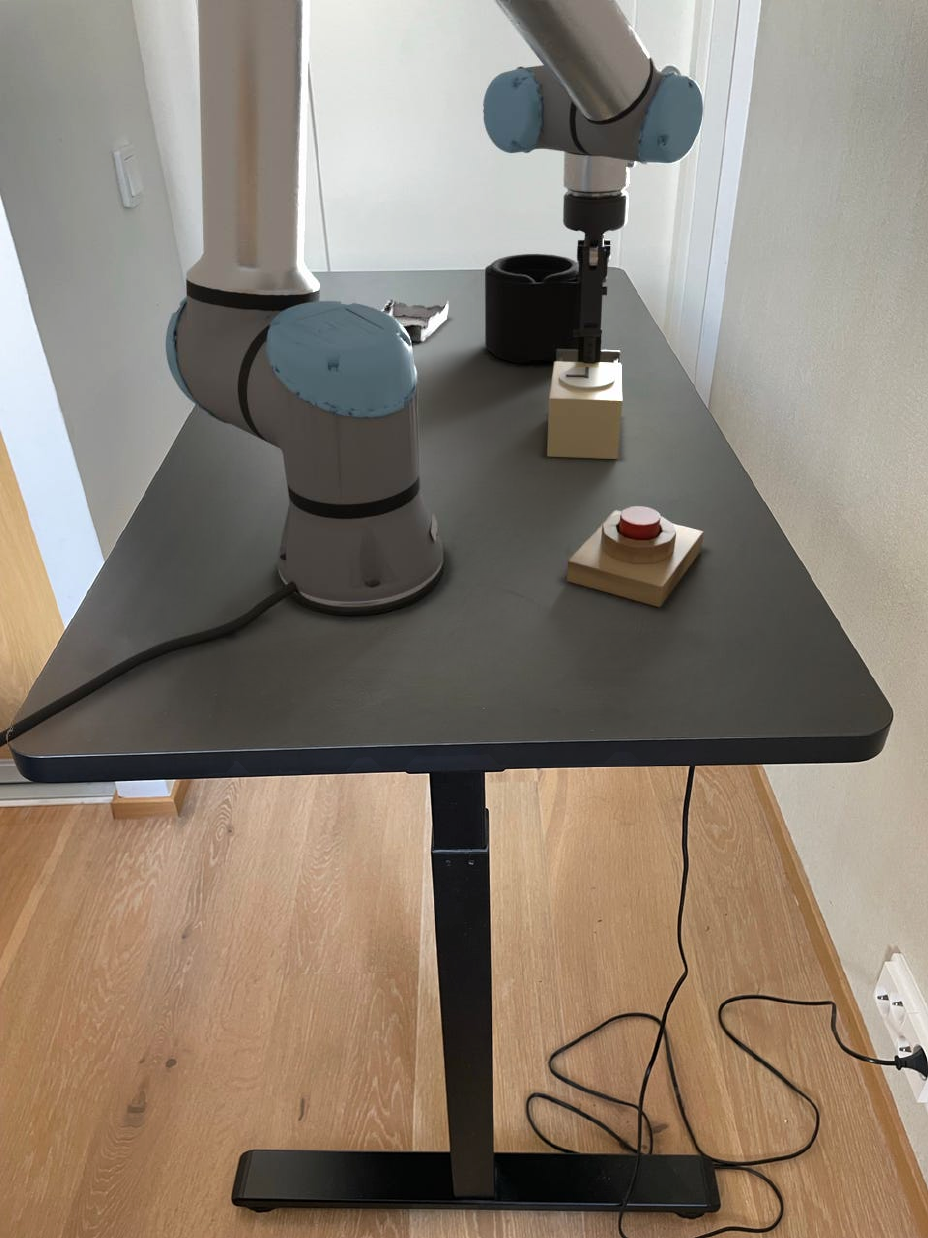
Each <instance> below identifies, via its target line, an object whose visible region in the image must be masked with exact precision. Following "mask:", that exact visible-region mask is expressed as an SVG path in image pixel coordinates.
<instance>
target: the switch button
mask: <svg viewBox="0 0 928 1238" xmlns="http://www.w3.org/2000/svg"><path fill="white" fill-rule="evenodd" d="M660 516H661V514H660V513H659V512H658V511H657V510H655V509H654V508H651V507H647V506H642V505H641V506H640V505H639V506H638V505H637V506H629V507H626V508H624V509H623V510H622V512H621V514H620V524H619V533H620V534H621V535H622V536H624V537H626V538H630V539H634V540H651V539H654V538H656V537H657V536H658V534H659V527H660V519H661V517H662V516H661V517H660Z"/></svg>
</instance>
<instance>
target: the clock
mask: <svg viewBox="0 0 928 1238" xmlns="http://www.w3.org/2000/svg"><path fill="white" fill-rule="evenodd" d="M620 358H621V350H615V349H613V350H612V349H611V350H610V349H601V356H600V363H596V362H595V364H593V363H583V362H578V350H575V349H557V352H556V361H553V367H552V374H551V375H552V376H551V383H550V390H549V396H548V397H549V398H548V419H547V420H548V422H547V444H546V445H547V447H546V448H547V449H546V457H548V458H549V457H550V458H551V457H552V458H578V459H605V460H618V458H619V448H620V447H619V446H620V435H621V424H622V423H621V422H622V412H623V411H622V410H623V376H622V375H623V373H622V363H621V362H620Z"/></svg>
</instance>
